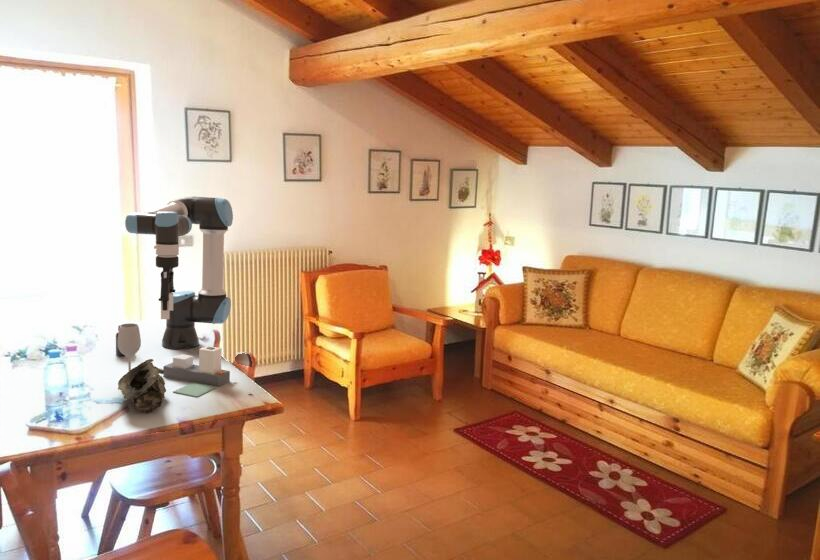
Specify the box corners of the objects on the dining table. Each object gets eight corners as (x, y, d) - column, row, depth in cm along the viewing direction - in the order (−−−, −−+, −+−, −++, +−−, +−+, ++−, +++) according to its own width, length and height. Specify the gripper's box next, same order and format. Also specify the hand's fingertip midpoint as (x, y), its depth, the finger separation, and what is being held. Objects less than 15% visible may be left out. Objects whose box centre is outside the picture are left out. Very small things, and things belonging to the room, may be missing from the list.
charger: (207, 371, 239) (207, 345, 238) (221, 374, 237) (221, 347, 236) (199, 375, 235) (199, 348, 233) (212, 378, 233) (213, 350, 231)
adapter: (181, 366, 243) (181, 354, 242) (192, 368, 241) (192, 356, 240) (173, 370, 238) (173, 357, 237) (184, 372, 237) (184, 359, 236)
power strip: (148, 373, 241) (148, 362, 240) (160, 368, 247) (160, 357, 247) (218, 387, 231) (218, 375, 231) (229, 381, 238) (229, 369, 237)
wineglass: (136, 377, 236) (135, 321, 233) (144, 383, 231) (144, 326, 227) (115, 381, 231) (114, 324, 227) (123, 387, 225) (122, 329, 222)
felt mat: (193, 383, 233) (193, 382, 233) (216, 387, 230) (216, 386, 230) (173, 392, 223) (173, 391, 223) (197, 397, 220) (197, 396, 220)
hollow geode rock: (148, 433, 200) (183, 398, 202) (115, 409, 195) (152, 373, 197) (146, 399, 226) (178, 368, 228) (117, 377, 220) (150, 346, 222)
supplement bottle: (112, 355, 259) (111, 327, 257) (122, 351, 266) (122, 323, 264) (127, 357, 258) (127, 328, 256) (137, 353, 265) (137, 324, 263)
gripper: (160, 250, 236) (160, 306, 240) (151, 260, 213) (151, 322, 216) (181, 251, 238) (181, 307, 242) (175, 261, 215) (175, 322, 218)
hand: (167, 314), depth 229 cm, fingers open, 13 cm apart
